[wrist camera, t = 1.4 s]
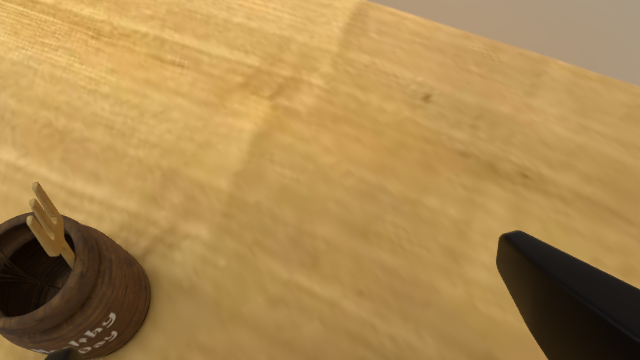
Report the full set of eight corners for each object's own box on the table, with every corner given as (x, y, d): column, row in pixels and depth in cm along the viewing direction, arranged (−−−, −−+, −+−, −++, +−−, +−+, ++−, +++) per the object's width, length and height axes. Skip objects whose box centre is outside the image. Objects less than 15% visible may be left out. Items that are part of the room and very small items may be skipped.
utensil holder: (50, 262, 26) (-143, 151, 15) (160, 244, 26) (45, 125, 16) (36, 371, 23) (-213, 328, 13) (159, 350, 23) (18, 292, 13)
